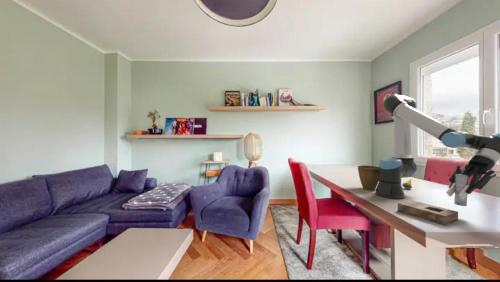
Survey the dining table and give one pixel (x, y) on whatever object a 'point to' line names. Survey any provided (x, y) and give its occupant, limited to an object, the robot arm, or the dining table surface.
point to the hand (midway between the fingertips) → (454, 195)
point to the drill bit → (407, 185)
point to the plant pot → (369, 176)
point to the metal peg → (460, 189)
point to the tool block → (428, 212)
